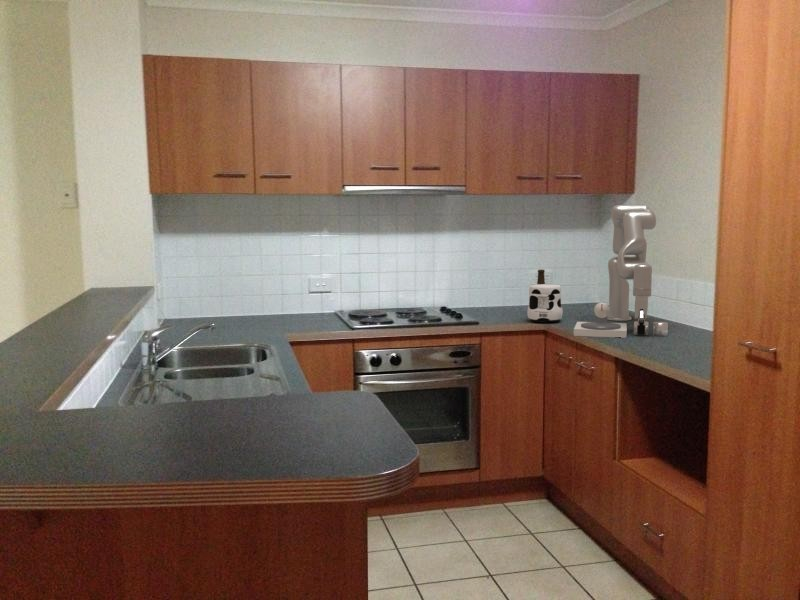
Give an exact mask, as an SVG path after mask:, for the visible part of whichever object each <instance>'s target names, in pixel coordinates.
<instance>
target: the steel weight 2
mask: <svg viewBox="0 0 800 600" xmlns="http://www.w3.org/2000/svg"><path fill="white" fill-rule="evenodd" d="M668 329H669V322H667V321H653V324H652V335H653V336H655V337H667V336H668V334H669V333H668V332H669V330H668Z"/></svg>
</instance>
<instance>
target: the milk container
mask: <svg viewBox="0 0 800 600" xmlns="http://www.w3.org/2000/svg"><path fill="white" fill-rule="evenodd" d="M526 312H527V318H528V319H529V320H530V321H531V322H536V323H537V322H538V323H554V322H559V321H561V320H562V318H563V312H564V311H563V307H562V287H561V285H559V284H554V283H553V284H551V283H550V284H548V283H545V284H537V283H536V284H531V285H529V289H528V306H527V311H526Z"/></svg>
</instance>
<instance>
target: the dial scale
mask: <svg viewBox="0 0 800 600" xmlns="http://www.w3.org/2000/svg"><path fill="white" fill-rule="evenodd" d="M593 312H594V314H595V321H576V324H575V325H574V328H573V337H589V338H591V337H595V338H615V337H621V338H620V339H626V338H627V336H628V335H627V333H628V332H627V331H628V330H627V326H628V325H627V323H625V322H608V320H607V319H608V316H609V313H610V308H609V304H607V303H605V302H599V303H597V304H596V305H594V308H593Z"/></svg>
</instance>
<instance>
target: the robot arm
mask: <svg viewBox="0 0 800 600" xmlns="http://www.w3.org/2000/svg"><path fill="white" fill-rule="evenodd" d="M610 215H611V216H610V217H611V221H612V224H613V239H612V251H613V253H614V254H615V255H617V256H615V257H614V256H613V257H611V258H610V259H609V260H608V263H607V269H608V279H609V286H608V287H609V289H608V290H609V293H608V294H609V295H608V306H609V308H610V313H609V315H608V319H607V321H615V322H616V321H617V322H625V321H626V322H627V321H631V320H632V319H633V318H632V316H629V313H630V311H629V309H630V306H629V305H630V284H629V282H628V280H632V282H633V283H632V284H633V285H632V296H633V297H635V298H634V319H637V321H638V325H637V334H639V335H638V336H646V335H645V321H646V319H647V317H648V309H649V308H648V307H649V297H652V280H653V278H652V277H653V276H652V274H653V267H652V264H651V265H650V264H649V263H647V262H646V257H647V251H648V250H647V247H648V245H647V244H648V243H647V239H646V238H645V232H644V230H653V229H655V228H656V225H657V218H656V213H655V212H654V209H652V208H651V207H650V205H648V204H644V203H643V204H642V203H641V204H617V205H614V206H613V207H612V208H611V212H610ZM633 255H634V256H633Z"/></svg>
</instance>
